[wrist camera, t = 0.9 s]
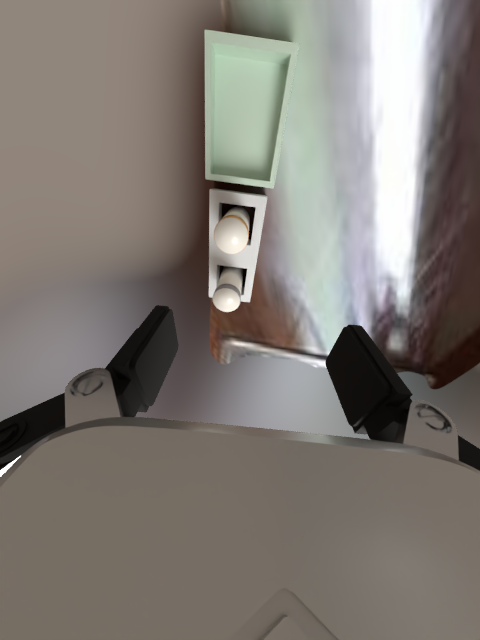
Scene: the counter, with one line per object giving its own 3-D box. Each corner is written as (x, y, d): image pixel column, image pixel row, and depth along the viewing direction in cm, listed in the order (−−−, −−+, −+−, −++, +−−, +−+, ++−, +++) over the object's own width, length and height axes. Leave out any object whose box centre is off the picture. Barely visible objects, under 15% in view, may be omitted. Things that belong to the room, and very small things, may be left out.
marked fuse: (225, 204, 26) (214, 214, 18) (252, 208, 26) (250, 219, 18) (224, 233, 28) (213, 252, 21) (248, 236, 28) (246, 256, 21)
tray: (210, 46, 18) (204, 29, 16) (294, 58, 18) (299, 43, 16) (209, 179, 24) (205, 179, 22) (272, 187, 24) (273, 188, 22)
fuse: (222, 261, 30) (212, 286, 23) (244, 263, 30) (241, 290, 23) (221, 281, 33) (212, 310, 26) (242, 284, 33) (238, 313, 26)
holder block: (213, 188, 24) (209, 189, 22) (266, 195, 25) (267, 197, 22) (212, 288, 34) (208, 297, 31) (250, 293, 34) (249, 302, 31)
